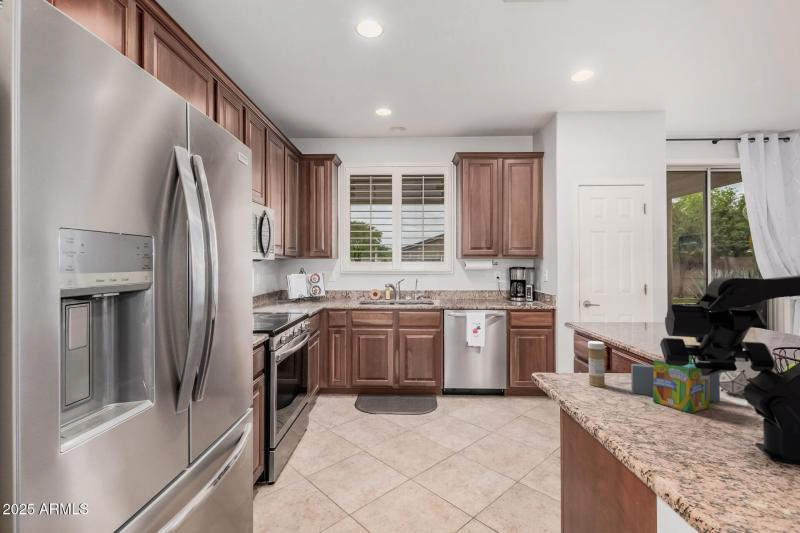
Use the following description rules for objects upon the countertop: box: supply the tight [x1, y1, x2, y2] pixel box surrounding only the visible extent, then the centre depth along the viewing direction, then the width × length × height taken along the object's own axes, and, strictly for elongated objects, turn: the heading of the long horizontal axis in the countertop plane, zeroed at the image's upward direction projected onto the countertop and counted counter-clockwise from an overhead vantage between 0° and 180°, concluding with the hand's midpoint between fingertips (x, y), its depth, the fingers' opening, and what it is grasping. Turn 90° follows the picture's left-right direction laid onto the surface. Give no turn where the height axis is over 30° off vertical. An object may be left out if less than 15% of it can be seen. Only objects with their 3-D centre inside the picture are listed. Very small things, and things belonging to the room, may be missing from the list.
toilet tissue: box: [735, 348, 776, 383], centre depth 115 cm, size 11×12×10 cm
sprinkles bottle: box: [587, 340, 606, 388], centre depth 114 cm, size 5×5×14 cm
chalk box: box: [652, 355, 710, 414], centre depth 97 cm, size 9×9×15 cm
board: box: [630, 363, 721, 403], centre depth 103 cm, size 2×20×8 cm, turn 66°
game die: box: [719, 370, 752, 398], centre depth 105 cm, size 9×8×10 cm
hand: (703, 373), depth 85 cm, fingers closed
